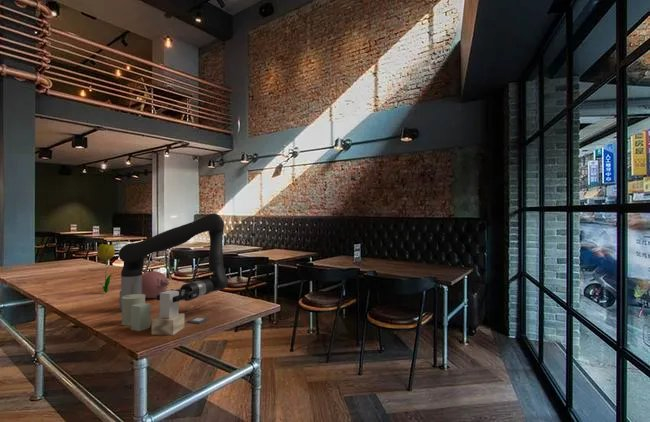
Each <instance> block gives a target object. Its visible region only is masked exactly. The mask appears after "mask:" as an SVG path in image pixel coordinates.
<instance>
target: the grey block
mask: <svg viewBox="0 0 650 422" xmlns="http://www.w3.org/2000/svg"><path fill="white" fill-rule="evenodd" d="M168 290H169V291H167V290H165V292H161V293H160V300H159V316H160V318H168V319H170V318H173V317H175V316H178V314H179V310H180V309H179V303H180V301H178V302H173V297H174V296H178V295H179V291H171V289H168Z"/></svg>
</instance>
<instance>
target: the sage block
mask: <svg viewBox="0 0 650 422" xmlns="http://www.w3.org/2000/svg"><path fill="white" fill-rule="evenodd" d="M149 328H151V303H149V302H147V303H146V302H145V303H139V304H135V305H132V306H131V325H130V330H131V331H136V332H141V331H145V330H147V329H149Z"/></svg>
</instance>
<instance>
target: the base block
mask: <svg viewBox="0 0 650 422" xmlns="http://www.w3.org/2000/svg"><path fill="white" fill-rule="evenodd" d="M184 328H185V313H178V316H175V317H173V318H170V319H168V318H160V315H158V316H156V317H154V318H152V319H151V335H160V336H161V335H163V336H174V335H176V334H177V333H179V332H180V331H181V330H183V329H184Z"/></svg>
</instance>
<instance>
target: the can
mask: <svg viewBox="0 0 650 422" xmlns="http://www.w3.org/2000/svg"><path fill="white" fill-rule="evenodd" d="M139 303H146V298H145V295H144V294H131V295H126V296H123V297H122V311H121V323H120V324H121V325H122V326H130V327H131V306H132V305H135V304H139Z"/></svg>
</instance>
